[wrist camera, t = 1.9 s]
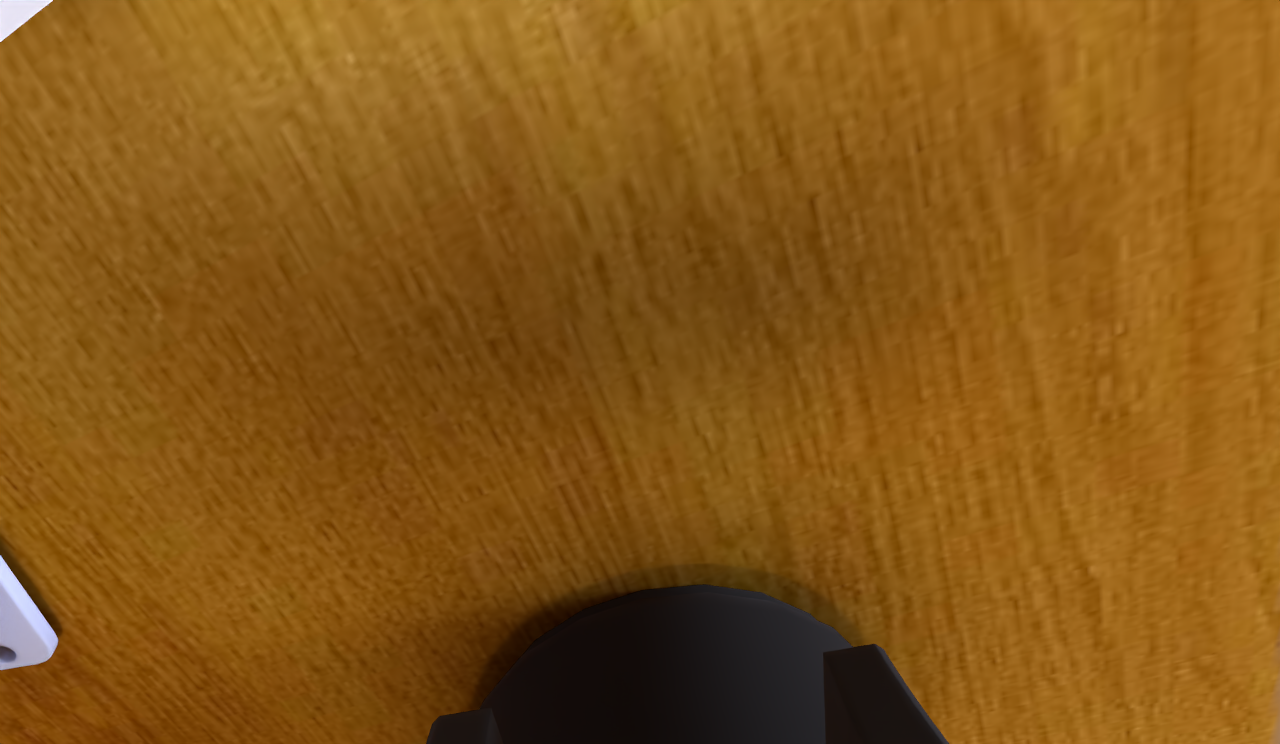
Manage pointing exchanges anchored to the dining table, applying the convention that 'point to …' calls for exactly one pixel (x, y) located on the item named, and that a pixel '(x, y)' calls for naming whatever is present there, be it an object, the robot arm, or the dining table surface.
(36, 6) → the white cup
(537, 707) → the coffee jar
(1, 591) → the robot arm
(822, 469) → the dining table surface
